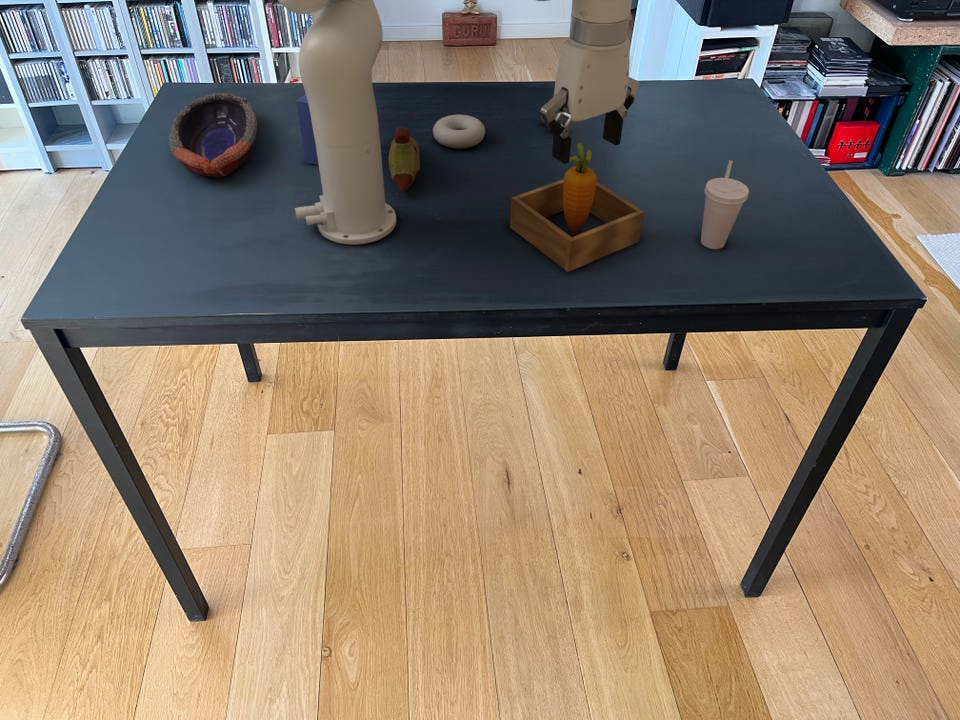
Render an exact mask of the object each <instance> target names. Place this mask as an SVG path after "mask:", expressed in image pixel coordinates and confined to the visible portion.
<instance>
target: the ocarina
mask: <svg viewBox="0 0 960 720" xmlns="http://www.w3.org/2000/svg"><path fill="white" fill-rule="evenodd" d="M388 168H389V172H390V177H391V179H392V182H393V183H394V185H395V186H396V188H397V189H398V190H399V191H400V192H402V193H404V192H406V191H407V190H408V189H409V188H410V187H411V186H412V185H413V183H414V182H415V181H416V179H417V178H418V175H419V173H420V169H421V158H420V148H419V145H418V143H417V141H416V140H415V139H414V138H413V137H412V136H411V135H410V133H409V130H408V129H407V128H406V127H404V126H399V127H397V128H396V130H395V133H394V138H393V140H392V142H391V144H390V148H389V153H388Z"/></svg>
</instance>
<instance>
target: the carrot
mask: <svg viewBox="0 0 960 720" xmlns="http://www.w3.org/2000/svg"><path fill="white" fill-rule="evenodd" d="M576 147H577V151H578V154H579V156H578V155H576V154H575V155H573V156H570V161H569V162H571V163H573V164H574V166H572V167H570V168H569V169H568V170H567V171H566V172H565V173H564V175H563V179H564V184H563V208H564V211H563V214H564V216H563V217H564V219H565V222H566V225H567V227H568V228H567V229H568V230H569V232H570V234H571V235H573V236H576V235H578V233H579V232H580V231H581V229H582V228H583V227H584V226H585V223H586V222H587V220H588V218H589V216H590V214H591V213H590V210H591V207H592V204H593V200H594V195H595V189H596V183H597V182H598V177H597V174H596V173H595V172H594V170H593V168H590V167H589V164H590V162H591V159H592V154H593V153H592V150H591V149H587V151H586V153H585V149H584V145H583V143H581V142H579V143H577V145H576ZM585 154H586V155H585Z"/></svg>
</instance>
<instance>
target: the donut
mask: <svg viewBox="0 0 960 720" xmlns="http://www.w3.org/2000/svg"><path fill="white" fill-rule="evenodd" d="M432 134H433V138H434V139H435V141H436V142H437V143H438V144H439V145H441V146H444V147H446V148H450V149H468V148H472V147H475V146H477V145H478V144H480V143H481V142H482V141H483V140H484V137H485V135H486V128H485V125H484V123H482V121H481V120H479V119H478V118H477V117H475V116H471V115H468V114H452V115H451V114H450V115H446V116H444V117H441V118H440V119H439V120H437V121H436V122H435V124H434V125H433V127H432Z"/></svg>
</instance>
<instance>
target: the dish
mask: <svg viewBox="0 0 960 720" xmlns="http://www.w3.org/2000/svg"><path fill="white" fill-rule="evenodd" d="M257 134H258V120H257V116H256V112H255V110H254V109H253V107H252V104H251V103H250V102H249V100H248V99H247V98H246V97H241V96H239V95H236V94H234V93H226V92H217V93H211V94H208V95H204V96H201V97H199V98H197V99H195V100H193V101H191V102H189V104H187V105H186V106H185V107H183V108H182V109H181V111H179V112H178V114H177V115H176V116H175V118H174V119H173V122H172V123H171V126H170V129H169V133H168V145H169V148H170V151H171V153H172V155H173V156H174V158H176V159H177V161H178V162H179V163H180V164H181V165H182V166H183V167H184V168H186V169H187V170H189V171H192V172H193V173H195V174H197V175H200V176H204V177H217V178H218V177H225V176H226V177H227V176H228V175H231V174H232V173H233V172H234V171H235V170H236V169H237V168H239V167H240V166H241V165H243V164H244V163H245V162H246V161H247V160H248V159H249V158H250V156H251V154H252V151H253V149H254V147H255V142H256V138H257Z"/></svg>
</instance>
